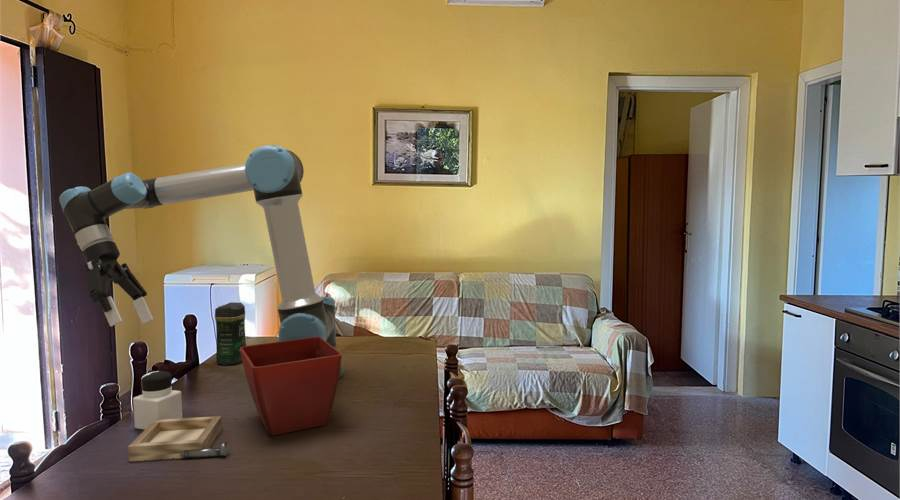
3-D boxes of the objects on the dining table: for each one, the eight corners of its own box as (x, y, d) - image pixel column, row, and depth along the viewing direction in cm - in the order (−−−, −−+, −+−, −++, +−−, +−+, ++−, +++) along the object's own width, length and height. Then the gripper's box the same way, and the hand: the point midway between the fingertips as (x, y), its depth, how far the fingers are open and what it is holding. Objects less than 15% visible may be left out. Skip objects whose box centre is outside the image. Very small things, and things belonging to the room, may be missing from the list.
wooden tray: (221, 429, 130) (221, 416, 129) (203, 456, 116) (202, 442, 115) (155, 433, 128) (154, 419, 128) (128, 461, 114) (127, 446, 114)
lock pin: (228, 452, 118) (227, 440, 117) (225, 458, 115) (224, 445, 115) (182, 455, 116) (182, 442, 116) (178, 461, 114) (177, 448, 114)
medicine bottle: (183, 420, 135) (180, 370, 134) (159, 432, 128) (155, 379, 127) (159, 417, 137) (156, 367, 136) (134, 428, 130) (130, 376, 129)
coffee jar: (237, 366, 178) (234, 306, 177) (212, 365, 179) (209, 306, 177) (251, 357, 188) (248, 300, 186) (227, 357, 189) (224, 300, 187)
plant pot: (255, 446, 120) (252, 366, 119) (242, 415, 137) (239, 345, 136) (345, 428, 129) (343, 354, 128) (322, 402, 146) (320, 336, 145)
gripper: (114, 257, 158) (147, 327, 156) (49, 248, 133) (86, 332, 131) (139, 244, 158) (172, 314, 156) (78, 233, 133) (116, 316, 131)
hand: (133, 322), depth 143 cm, fingers open, 13 cm apart
